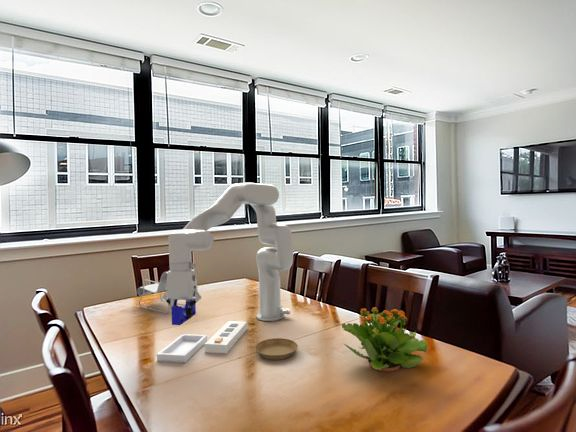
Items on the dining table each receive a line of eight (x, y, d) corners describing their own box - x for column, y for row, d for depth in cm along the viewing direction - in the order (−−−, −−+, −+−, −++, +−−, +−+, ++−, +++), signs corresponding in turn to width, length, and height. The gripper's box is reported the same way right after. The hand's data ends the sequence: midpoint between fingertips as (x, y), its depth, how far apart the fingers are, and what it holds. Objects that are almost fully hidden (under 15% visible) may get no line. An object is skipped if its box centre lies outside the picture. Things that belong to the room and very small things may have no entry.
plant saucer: (249, 349, 128) (249, 342, 128) (287, 342, 134) (287, 335, 134) (263, 366, 114) (263, 358, 114) (304, 357, 120) (304, 350, 120)
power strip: (247, 328, 148) (247, 320, 148) (226, 353, 124) (226, 343, 124) (228, 328, 149) (228, 319, 149) (205, 352, 126) (204, 342, 126)
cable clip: (184, 313, 133) (183, 297, 133) (195, 314, 132) (195, 298, 132) (167, 324, 121) (167, 307, 121) (180, 325, 120) (179, 307, 120)
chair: (169, 314, 171) (168, 273, 170) (137, 306, 184) (135, 268, 183) (191, 306, 182) (190, 268, 181) (159, 300, 195) (158, 264, 194)
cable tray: (207, 341, 135) (207, 335, 135) (185, 363, 118) (184, 355, 117) (182, 340, 137) (182, 334, 137) (157, 361, 119) (156, 354, 119)
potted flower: (411, 394, 96) (410, 329, 95) (330, 373, 108) (329, 316, 108) (429, 358, 117) (429, 305, 116) (360, 344, 130) (359, 296, 129)
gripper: (207, 265, 128) (209, 315, 129) (164, 264, 131) (166, 313, 132) (198, 269, 121) (200, 322, 121) (152, 268, 124) (154, 320, 125)
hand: (182, 317), depth 127 cm, fingers closed on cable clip, 4 cm apart
